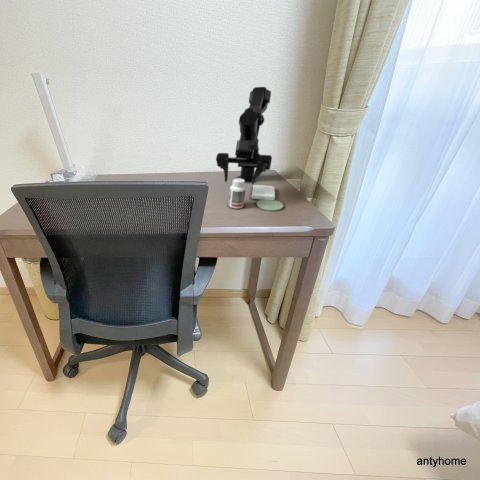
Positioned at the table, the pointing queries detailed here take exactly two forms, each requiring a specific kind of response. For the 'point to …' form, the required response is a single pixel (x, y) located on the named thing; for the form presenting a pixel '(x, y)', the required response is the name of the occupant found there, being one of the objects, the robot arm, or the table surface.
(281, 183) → the table surface
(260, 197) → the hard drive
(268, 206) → the coaster
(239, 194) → the pill bottle
